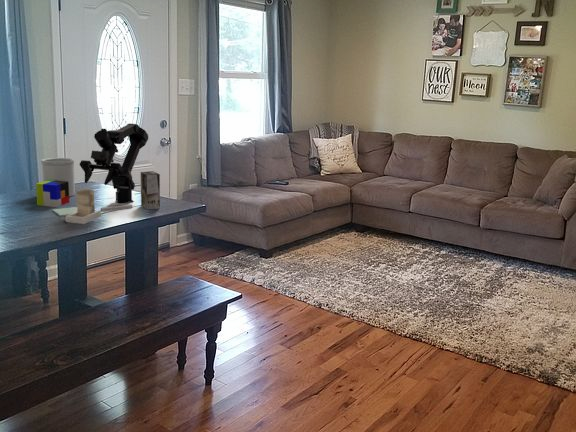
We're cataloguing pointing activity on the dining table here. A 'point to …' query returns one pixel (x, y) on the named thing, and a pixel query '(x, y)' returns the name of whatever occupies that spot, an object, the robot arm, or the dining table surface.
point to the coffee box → (150, 190)
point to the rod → (116, 207)
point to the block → (85, 202)
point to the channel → (82, 220)
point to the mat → (65, 211)
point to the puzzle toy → (52, 193)
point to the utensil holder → (59, 171)
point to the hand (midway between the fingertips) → (95, 183)
